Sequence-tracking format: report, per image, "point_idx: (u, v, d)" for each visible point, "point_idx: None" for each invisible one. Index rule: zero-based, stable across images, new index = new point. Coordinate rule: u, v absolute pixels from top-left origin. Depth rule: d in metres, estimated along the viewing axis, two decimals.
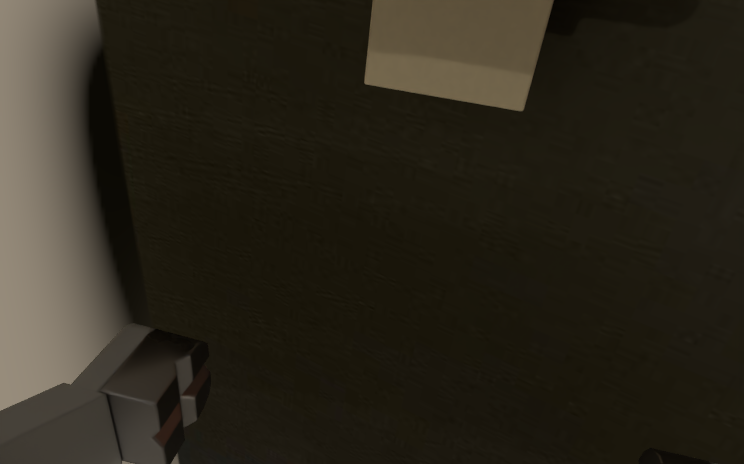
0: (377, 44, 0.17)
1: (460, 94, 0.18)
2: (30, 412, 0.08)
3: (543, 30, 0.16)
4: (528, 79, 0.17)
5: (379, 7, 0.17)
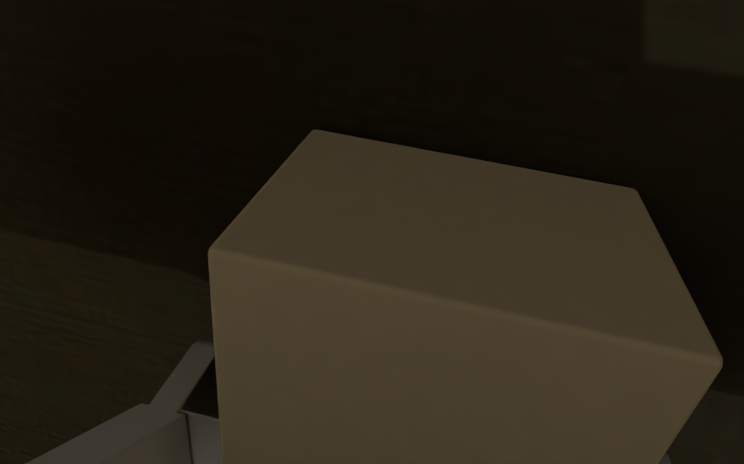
0: None
1: None
2: (114, 434, 0.08)
3: None
4: None
5: None
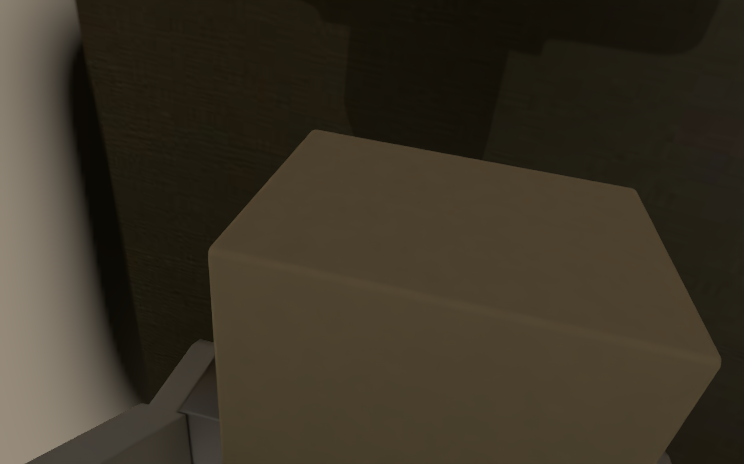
0: None
1: None
2: (114, 434, 0.08)
3: None
4: None
5: None
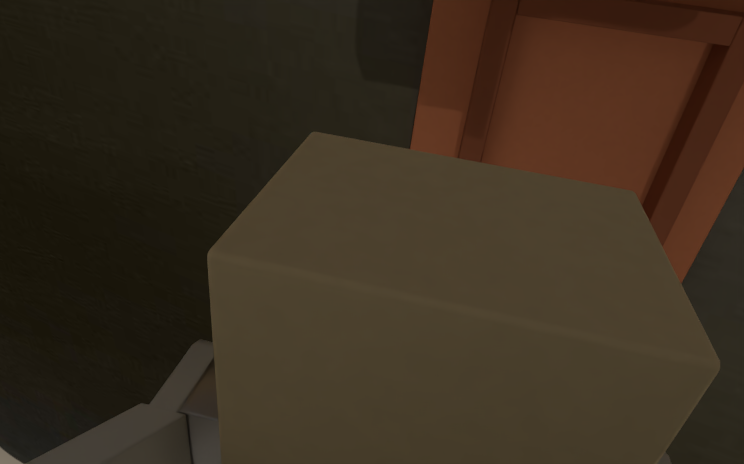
0: None
1: None
2: (113, 434, 0.08)
3: None
4: None
5: None
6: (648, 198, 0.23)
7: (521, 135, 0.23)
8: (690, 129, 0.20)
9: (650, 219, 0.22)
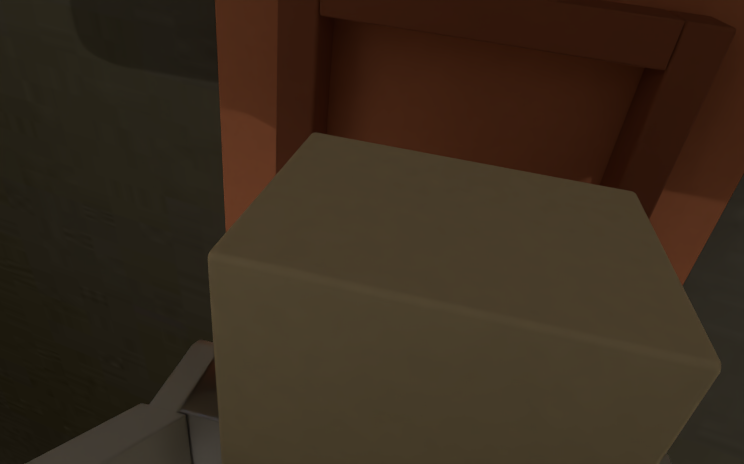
0: None
1: None
2: (114, 434, 0.08)
3: None
4: None
5: None
6: None
7: None
8: None
9: None
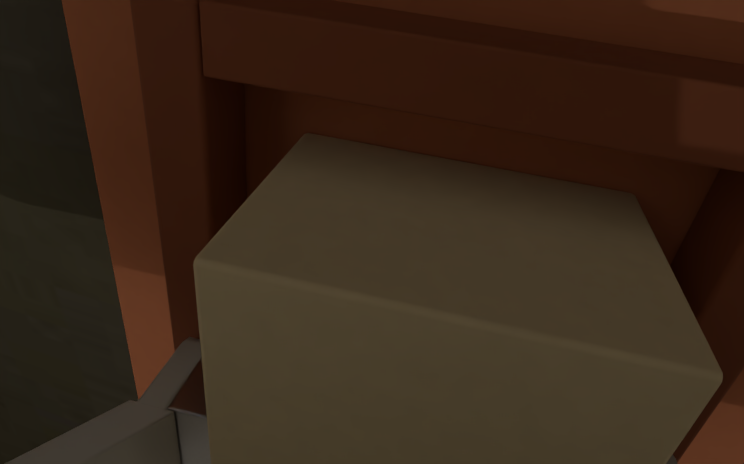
0: None
1: None
2: (101, 431, 0.08)
3: None
4: None
5: None
6: None
7: None
8: None
9: None
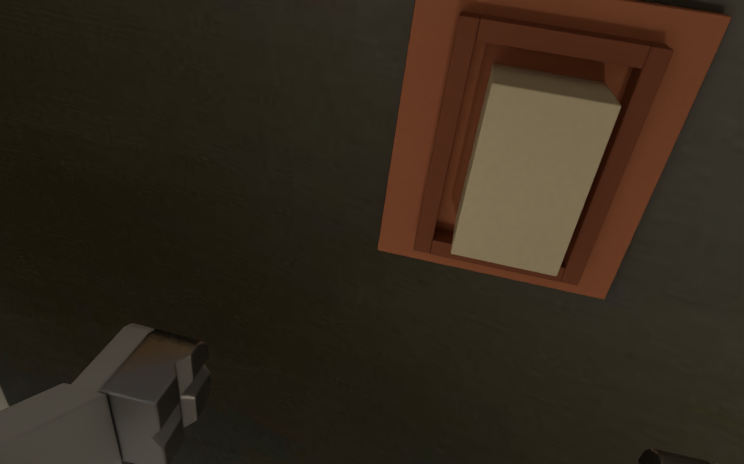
0: (462, 232, 0.26)
1: (515, 264, 0.27)
2: (30, 412, 0.08)
3: (572, 233, 0.25)
4: (561, 259, 0.26)
5: (465, 213, 0.26)
6: None
7: None
8: (616, 134, 0.25)
9: (588, 208, 0.27)
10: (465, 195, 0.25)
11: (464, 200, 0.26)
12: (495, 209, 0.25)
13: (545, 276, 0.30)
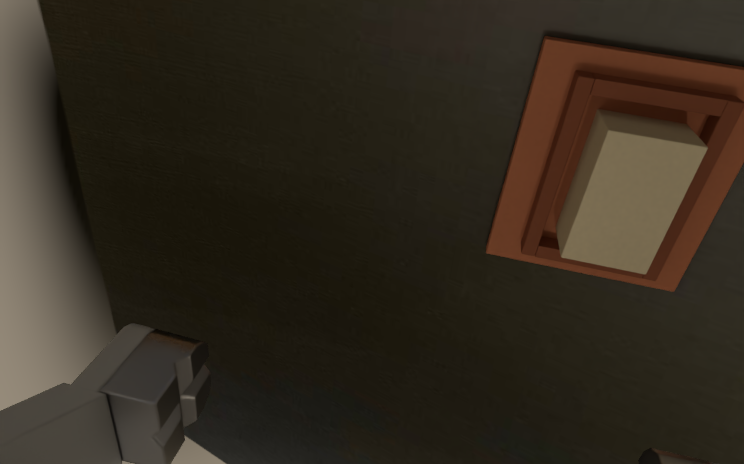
0: (572, 241, 0.34)
1: (613, 265, 0.34)
2: (30, 412, 0.08)
3: (661, 241, 0.33)
4: (650, 261, 0.33)
5: (576, 226, 0.33)
6: None
7: None
8: None
9: None
10: (578, 212, 0.33)
11: (576, 216, 0.33)
12: (601, 223, 0.33)
13: (629, 274, 0.37)
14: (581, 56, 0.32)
